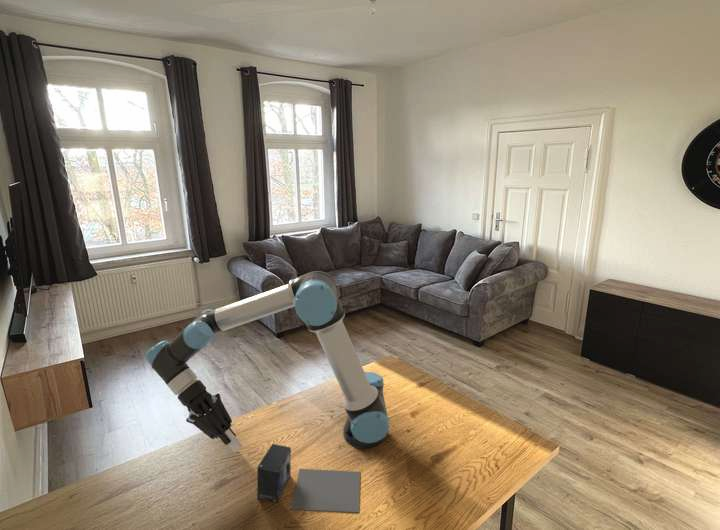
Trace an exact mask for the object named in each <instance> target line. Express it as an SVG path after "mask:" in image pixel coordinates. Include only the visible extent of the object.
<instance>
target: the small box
mask: <svg viewBox="0 0 720 530" xmlns="http://www.w3.org/2000/svg"><path fill="white" fill-rule="evenodd" d="M291 457H292V447H290V446H284V445H279V444H274V443H272V444H271V445H270V447H269V449H268V450H267V451H266V453H265V455H264V456H263V458H262V459H261V461H260V463H259V464H258V466H257V467H256V468H257V470H256V472H257V474H256V475H257V477H256V479H257V485H256V486H257V487H256V488H257V493H256V494H257V495H256V498H257V499H258V500H264V501H267V502H270V503H271V502H272V503H278V502H279V499H280V497H281V496H282V494H283V492H284V490H285V488H286V486H287V484H288V482H289V481H290V478H291V473H292V472H291V469H292V468H291V465H292V464H291Z"/></svg>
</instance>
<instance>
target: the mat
mask: <svg viewBox="0 0 720 530" xmlns="http://www.w3.org/2000/svg"><path fill="white" fill-rule="evenodd" d="M360 485H361V471H350V470H348V471H347V470H334V469H333V470H331V469H314V468H313V469H310V468H308V469H307V468H299V470H298V475H297V479H296V483H295V487H294V491H293V495H292V500H291V503H290V508H289V510H291V511H292V510H293V511H294V510H295V511H311V512H312V511H313V512H328V513H329V512H330V513H348V514H359V513H360V494H361V493H360V488H361V486H360Z"/></svg>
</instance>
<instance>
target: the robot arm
mask: <svg viewBox="0 0 720 530" xmlns="http://www.w3.org/2000/svg"><path fill="white" fill-rule="evenodd" d="M337 290H338V289H337V282H336V280H335V279H334V278H333V277H332V275H331V274H329V273H327V272H325V271H322V270H314V271H310V272H307V273H305V274H303V275H299V276H298V277H294V278H291V279H290V280H289V282H288V283H287V284H284V285H281V286H278V287H275V288H273V289H269V290H266V291H264V292H261V293H258V294H256V295H253V296H250V297H247V298H244V299H241V300H237V301H236V302H232V303H229V304H227V305H225V306H220V307H218V308H216V309H205V310H203V311H202V312H200V313H198V314H197V316H196V317H195V318H194V319H193V320H192V321H191V322H190V323H189V324H188V325H187V326H186V327H184V329H183V330H182V331H181V332H180V333H179V334H178V335H177V336H176V337H174V339H172V340H171V341H170V342H169V341H168V340H162V341H160V342H158V343H156V344H155V345H154V346H152V347H151V348H150V349H149V350H147V352H146V353H145V357H144V358H145V360H146V361H147V362H148V364H149V365H150V368H151V369H153V370H154V371H155V372H156V374H157V375H158V376H159V377H160V378H161V380H163V382H164V383H165V384H166V386H167V387H168V389H169V390H170V391H171V392H172V393H173V394H174V395H175V396H177V400H178V401H179V402H180V403H181V404H182V405H183V406H184V407H186V409H187V410H188V417H187V418H186V419H185V421H186V422H187V423H190V425H191V424H192V425H193V426H194V427H196V428H197V429H198V430H200V431H201V432H202V433H204V434H205V435H206V436H208V437H209V438H210V440H211V439H212V440H215V439H218V438H219V439H220V440H221V442H222V443H223V444H224V445H225V446H228V447H229V449H230V450H231V451H232V452H233V453H234V454H235V453H237V452H238V451H239V450H240V449H241V448H242V447H243V445H242V443H241V442H240V441H239V439H238V438H237V435H236V433H235V432H234V431H233V430H232V428H231V427H232V422H233V420H232V417H231V416H230V415H229V414H230V413H228V411H227V409H226V406H225V405H224V403H223V402H222V398H221V394H220V393H216V394H211V392H208V391H207V387H206V386H205V384H204V383H203V381H201V379H198V378H199V377H198V376H197V375H196V373H195V372H194V371H193V370H192V369H191V367H190V366H189V365H188V364H187V363H188V361H189V360H190V359H191V358H193V357H194V356H195V355H196V354H197V353H199V352H200V351H201V350H202V349H204V348H205V347H206V346H207V345H208V344H209V343H210V342H211V341H212V340H213V337H214V335H216V334H220V333H222V332H224V331H227V330H230V329H232V328H235V327H238V326H241V325H245V324H247V323H250V322H253V321H257V320H259V319H262V318H265V317H268V316H270V315H271V316H272V315H273V314H276V313H279V312H283V311H285V310H288V309H292V308H294V309H295V312H296V315H297V316H298V317H299V318H300V319H299V320H301V321H303V323H305V325H306V328H307V330H308V331H309V332H310V333H311V332H312V333H315V335H316V336H317V339H318V342H319V344H320V345H321V348H322V349H323V352H324V354H325V356H326V358H327V361H328V363H329V366H330V367H331V369H332V372H333V375H334V376H335V378H336V381H337V382H338V385H339V387H340V389H341V391H342V393H343V395H344V399H343V402H342V405H343V408H344V410H345V412H346V415H347V418H346V420H345V422H344V425H343V431H342V436H343V439H344V440H345V442H346V443H348V444H349V445H351V446H352V447H355V448H358V449H373V448H376V447H378V446H380V445H382V444H383V442H384V441H385V440H386V436H387V434H388V432H389V429H390V418H389V415H388V411H387V405H386V401H385V397H384V385H385V383H384V378H383V376H382V375H380V374H379V373H376V372H371V371H364V367H363V366H362V363H361V361H360V358H359V355H358V354H357V352H356V350H355V347H354V345H353V342H352V340H351V338H350V336H349V333H348V331H347V329H346V326H345V324H344V321H343V320H344V318H345V316H346V314H345V311H344V309H343V306H342V304H341V301H340V300H339V299H340V298H339V297H338V294H337Z"/></svg>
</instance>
